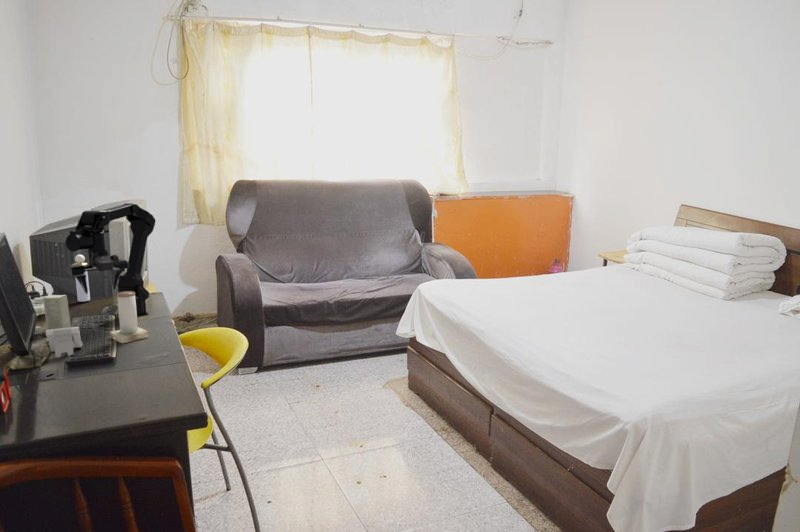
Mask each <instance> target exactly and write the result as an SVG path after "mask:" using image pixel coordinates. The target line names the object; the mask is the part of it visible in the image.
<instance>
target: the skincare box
mask: <svg viewBox="0 0 800 532" xmlns="http://www.w3.org/2000/svg"><path fill="white" fill-rule="evenodd" d="M42 300H43V307H44V308H43V309H44V314H45V315H44V316H45V322H46V327H47V329H46V330H50V329H60V328H70V327H72V322H71V316H70V311H69V310H70V309H69V303H68V295H67V294H50V295H47V296H43V297H42Z"/></svg>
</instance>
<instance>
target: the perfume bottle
mask: <svg viewBox="0 0 800 532" xmlns="http://www.w3.org/2000/svg"><path fill="white" fill-rule="evenodd" d="M85 260H86V257H85V256H84V255H83V254H77V255H76V256H74V261H75V263H72V264H71V265H77V264H79V265H82V266H89V265H88V264H87V261H86V262H85ZM88 272H89V271H85V273H84V275H86V283H87V289H88V294H86V293H85V292H84V290H83V288H82V286H81V284H80V283H79V281H78V280H77V278H76V277H74V278H75V284H76V285H75V287H76V296H77V297H76V298H77V302H88V301H90V300H91V293H90V284H89V274H88Z"/></svg>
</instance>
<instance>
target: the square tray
mask: <svg viewBox="0 0 800 532" xmlns="http://www.w3.org/2000/svg"><path fill="white" fill-rule="evenodd" d="M109 334H111V335H112V336H113V337H114V338H115V340H114V341H116V342H119V343H120V344H125V343H129V342H134V341H138V340H143V339H147V338H148V339H149V338H150V331H148V330H146V329H145V328H142V327H139V326H138V331H137V332H134V333H121V332H120V329H118V330H114V331H113V330H112V331H110V332H109Z"/></svg>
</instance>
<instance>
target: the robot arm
mask: <svg viewBox="0 0 800 532" xmlns="http://www.w3.org/2000/svg"><path fill="white" fill-rule="evenodd" d="M124 217H125V220H126V221H128V222H129V223H130V226H129V228H130V230H131V233H132V240H131V245H130V251H129V256H128V261H127V260H126V259H122V258H119V256H118V254H112V255H109V254H108V253H109V252H108V250H107V248H106V239H105V238H106V236H105V234H107V233H109V230H108V228H106V226H108V225H110V222H112V221H115V220H118V219H122V218H124ZM155 226H156V218H155V217H154V215H153V214H152V213H150V212H149V211H147V210H145V209H143V208H142V207H140V206H139V205H138V204H136V203H132V202H131V203H129V202H128V203H125V202H124V203H123V204H120V205H117V206H113V207H109V208H107V209H103V210H102V209H101V210H97V209H96V210H83V212H82V213H81V216H80V217H79V220H78V223H77V225H76V227H75V230H70V231H69V234H68V235H67V237H66V238H65V241H64V243H65V247H66V249H68V250H69V251H70V252H74V253H75V252H79V251H83V250H84V251H85V253H86V254H87V259H88V261H86V263H87V264H88V265H86V266H82V265H79V264H77V265H72V264H69V265H67V266H66V275H70V276H72V277H73V278H75V277H76V278H77V280H78V281H79V283H80V284H81V286H82V288H83V290H84V292H85V293H86V294H88V289H87V283H86V275H84V273H85V271H87V272H90V271H91V272H92V271H99V272H105V271H110V276H111V287H112V290H116V289H117V292H118V293H119V292H124V291H134V292H135V300H136V311H137V317H141V316H146V315H149V312H147V305H146V304H147V303H146V301H147V299H149V297H150V292H149V291H148V289H146V288H145V286H144V285H145V283H144V279H143V276H142V268H143V264H144V257H145V252H146V246H147V241H148V237H149V236H150V235H151V234H152V233H153V232H154V228H155ZM125 271H126V272H125ZM124 272H125V273H124ZM122 273H124V274H123V275H121V274H122ZM76 278H75V279H76ZM116 287H117V288H116Z"/></svg>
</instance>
